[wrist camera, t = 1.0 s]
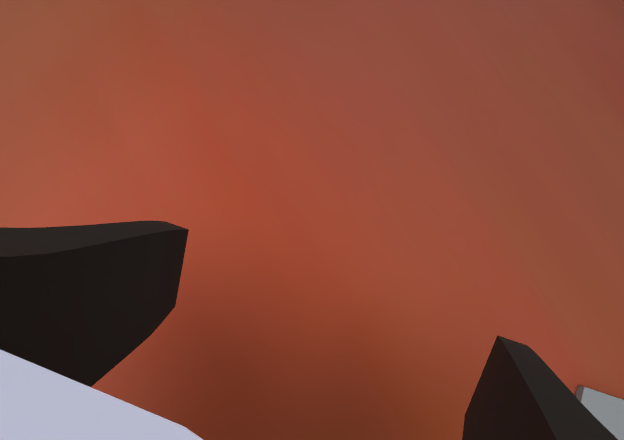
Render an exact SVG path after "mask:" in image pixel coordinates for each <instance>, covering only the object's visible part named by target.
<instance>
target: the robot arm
mask: <svg viewBox="0 0 624 440" xmlns="http://www.w3.org/2000/svg"><path fill="white" fill-rule="evenodd" d="M187 236H188V229H185V228H182V227H180V226H177V225H174V224H171V223H168V222H163V221H135V222H121V223H108V224H96V225H83V226H64V227H46V228H0V440H203V439H202V438H201V437H199V436H198V435H196V434H195V433H193V432H192V431H190V430H189V429H187V428H186V427H184V426H182V425H179V424H177V423H175V422H172V421H170V420H167V419H165V418H163V417H160V416H158V415H155V414H153V413H151V412H148V411H146V410H143V409H141V408H139V407H136V406H134V405H132V404H129V403H127V402H124V401H122V400H120V399H117V398H115V397H112V396H110V395H108V394H105V393H103V392H101V391H98V390H96V389H93V388H91V386H92V385H94V384H95V383H96V382H97V381H98V380H99V379H101V378H102V377H103V376H104V375H105V374H106V373H108V372H109V371H110V370H111V369H112V368H113V367H115V366H116V365H117V364H118V363H119V362H120V361H122V360H123V359H124V358H125V357H126V356H127V355H129V354H130V353H131V352H132V351H133V350H134V349H135V348H137V347H138V346H139V345H140V344H141V343H142V342H143V341H145V340H146V339H147V338H148V337H149V336H150V335H151V334H152V333H153V332H154V331H155V329H156V328H157V327H158V326H159V325H160V324H161V323H162V322H163V320H164V319H165V318H166V317H167V315H168V314H169V313H170V312H171V311H172V309H173V308H174V307H175V304H176V298H177V293H178V287H179V281H180V275H181V270H182V264H183V258H184V253H185V247H186V241H187ZM462 440H618V439H617V438H616V437H615V436H614V435H613V434H612V433H611V432H610V431H609V430H608V429H607V428H606V427H605V426H604V425H603V424H602V423H601V422H600V421H599V420H597V419H596V418H595V417H594V416H593V414H592V413H591V412H590V411H589V410H588V409H587V408H586V407H585V406H584V405H583V404H582V403H581V402H580V401H579V400H578V399H577V398H576V397H575V396H574V394H573V393H572V392H571V391H570V390H569V389H568V388H567V387H566V386H565V385H564V383H563V382H562V381H561V380H560V379H559V378H558V377H557V376H556V375H555V373H554V372H553V371H552V370H551V369H550V368H549V367H548V366H547V365H546V363H545V362H544V361H543V360H542V359H541V358H540V357H539V356H538V355H537V354H536V353H535V352H534V351H533V350H532V349H531V348H530V347H528V346H527V345H524V344H521V343H518V342H515V341H512V340H509V339H506V338H503V337H500V336H497V338H496V341H495V343H494V345H493V348H492V350H491V353H490V355H489V358H488V360H487V363H486V365H485V367H484V370H483V372H482V375H481V377H480V380H479V382H478V385H477V387H476V389H475V392H474V394H473V397H472V399H471V402H470V404H469V406H468V409H467V411H466V414H465V421H464V430H463V439H462Z"/></svg>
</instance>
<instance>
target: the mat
mask: <svg viewBox="0 0 624 440" xmlns="http://www.w3.org/2000/svg"><path fill="white" fill-rule="evenodd" d="M576 398H577V399H578V400H579V401H580V402H581V403H582V404H583V405H584V406H585V407H586V408H587V409H588V410H589V411H590V412H591V413H592V414H593V416H594V417H595V418H596V419H597V420H599V421H600V422H601V423H602V424H603V425H604V426H605V427H606V428H607V429H608V430H609V431H610V432H611V433H612V434H613V435H614V436H615V437H616V438H617V439H618V440H624V400H622V399H619V398H616V397H613V396H610V395H607V394H604V393H601V392H598V391H595V390H592V389H589V388H586V387H583V386H578V388H577V392H576Z"/></svg>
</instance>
